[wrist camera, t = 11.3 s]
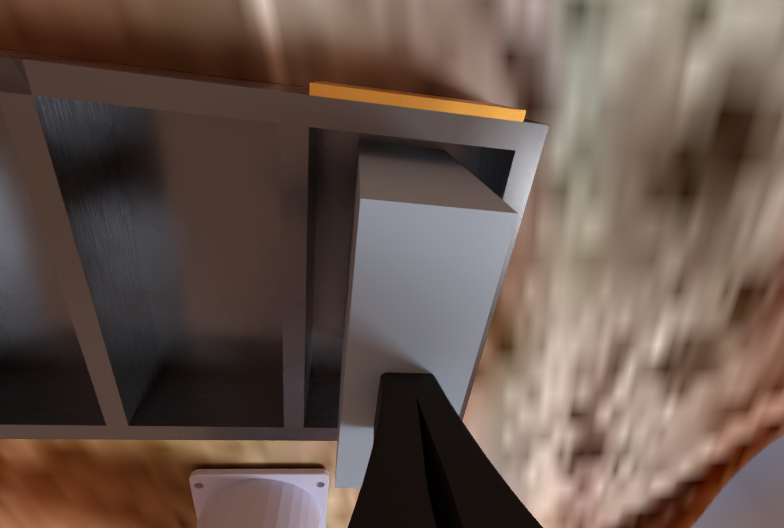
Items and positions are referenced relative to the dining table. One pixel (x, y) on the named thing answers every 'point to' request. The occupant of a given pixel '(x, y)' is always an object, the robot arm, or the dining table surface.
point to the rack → (198, 243)
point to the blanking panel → (414, 283)
